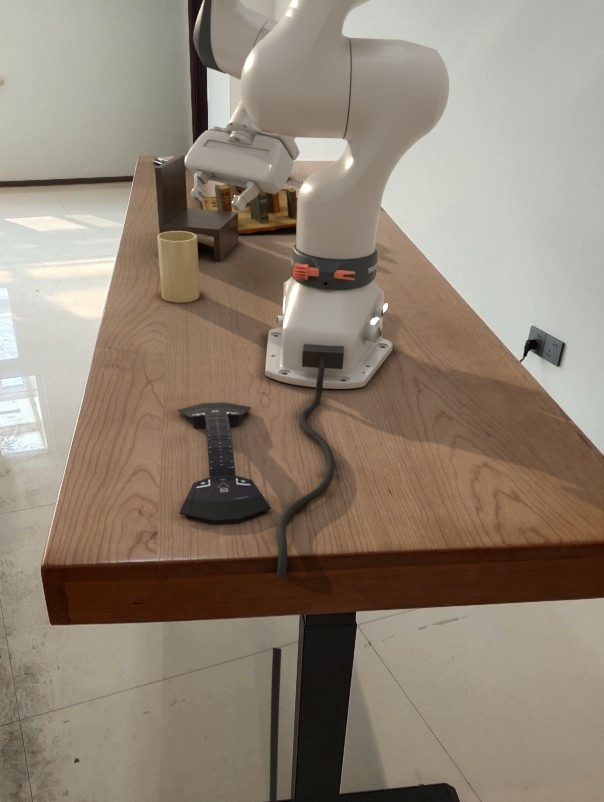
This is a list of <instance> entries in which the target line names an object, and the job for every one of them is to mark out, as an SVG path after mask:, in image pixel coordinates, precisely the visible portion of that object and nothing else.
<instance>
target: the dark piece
mask: <svg viewBox="0 0 604 802" xmlns="http://www.w3.org/2000/svg"><path fill="white" fill-rule="evenodd" d="M251 409H252V406H248V405H241V404H236V403H229V402H204V403H199V404H195V405H192V406H187V407H183V408H178V409H177V412H179V413H180V414H182V415H183V417H184V418H185V420H186V421H187V422H188V423H189V424H190V426H192V429H206V430H205V432H206V444H207V457H208V475H209V476H208V477H205V478H203V479H200V480H198V481H195V482H193V484H192V485H191V487H190V490H189V492H188V494H187V495H186V497H185V500H184V502H183V504H182V505H181V507H180V510H179V515H182V516H185V517H184V518H188V519H191V520H195V521H199V522H202V523H207V524H211V525H230V524H231V525H232V524H240V523H242V522H244V521H247V520H250V519H253V518H255V517H258V516H261V515H263V514H266V512H267V511H269V510H271V509H272V507H271V506H270V504H269V502H268V501H267V499H266V498H265V496H264V494H263V493H262V492H261V491H260V489H259V488H258V486H257V485H256V484H255V482H254V480H253V479H250V478H247V477H242V476H239V475H236V466H235V457H234V456H235V455H234V448H233V440H232V438H233V437H232V432H231V428H237V427H240V425H241V423H242V421H243V420H244V418H245V416H246V414H247V413H248V412H249V411H250V410H251Z"/></svg>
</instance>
